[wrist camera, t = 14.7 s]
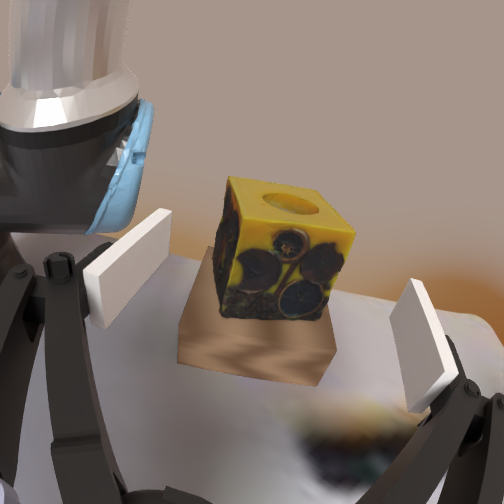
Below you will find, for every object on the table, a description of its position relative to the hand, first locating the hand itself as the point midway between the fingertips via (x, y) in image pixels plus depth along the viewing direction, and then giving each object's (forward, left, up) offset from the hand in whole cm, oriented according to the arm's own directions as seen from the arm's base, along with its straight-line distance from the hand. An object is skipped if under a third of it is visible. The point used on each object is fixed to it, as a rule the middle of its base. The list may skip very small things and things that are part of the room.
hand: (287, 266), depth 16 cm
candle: (-1, +13, -11) cm, 17 cm away
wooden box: (-1, +12, -17) cm, 21 cm away
